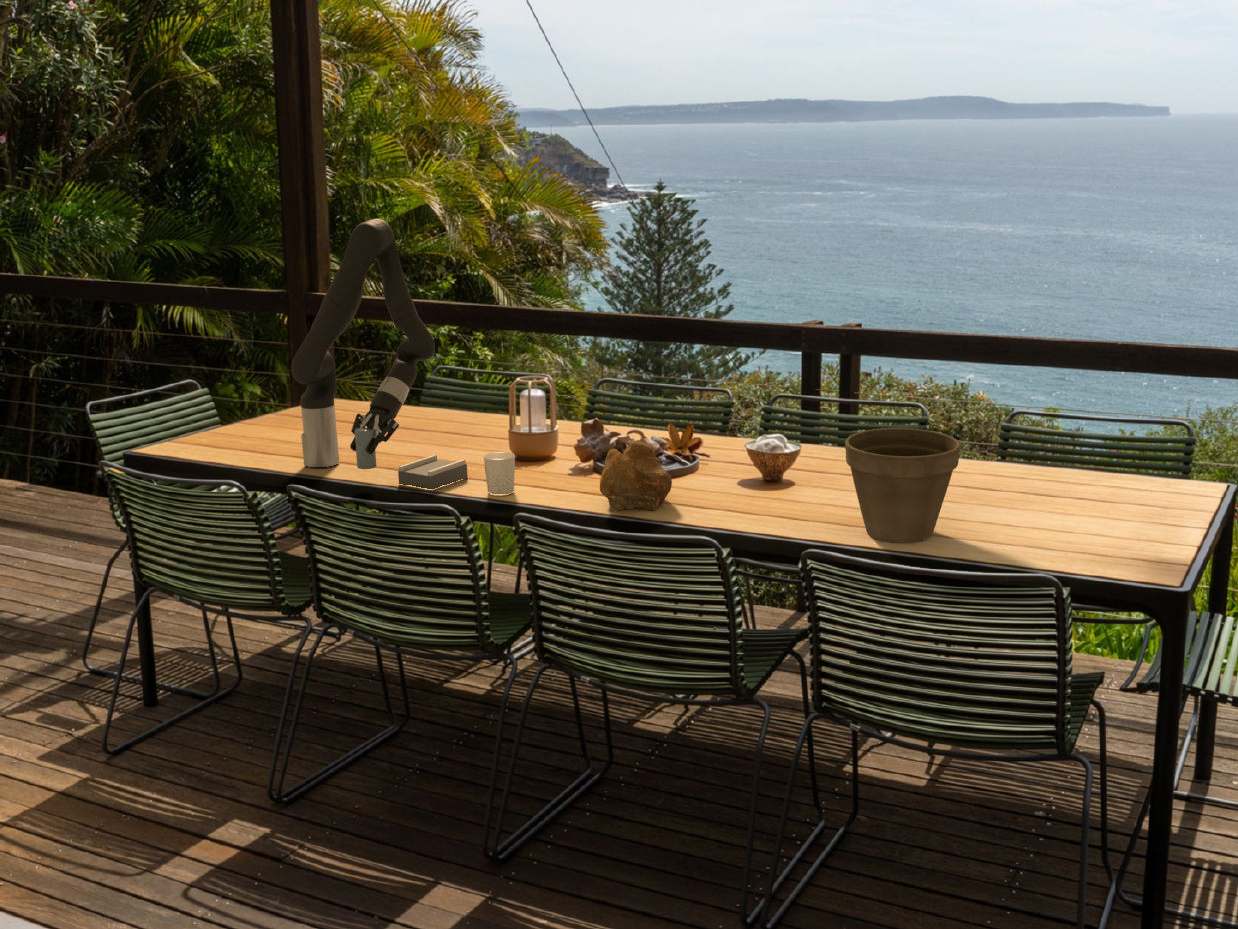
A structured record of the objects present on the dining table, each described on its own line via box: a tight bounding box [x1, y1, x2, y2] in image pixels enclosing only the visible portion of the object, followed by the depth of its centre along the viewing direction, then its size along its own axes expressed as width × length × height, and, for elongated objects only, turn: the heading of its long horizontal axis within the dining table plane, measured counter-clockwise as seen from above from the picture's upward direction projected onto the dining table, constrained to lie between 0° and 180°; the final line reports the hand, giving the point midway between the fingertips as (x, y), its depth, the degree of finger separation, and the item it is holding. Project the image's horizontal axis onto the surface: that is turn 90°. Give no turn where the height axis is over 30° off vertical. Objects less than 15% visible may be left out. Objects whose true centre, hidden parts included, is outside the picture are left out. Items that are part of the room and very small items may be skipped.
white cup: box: [483, 451, 516, 494], centre depth 308 cm, size 8×8×10 cm
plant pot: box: [845, 427, 961, 544], centre depth 267 cm, size 25×25×22 cm
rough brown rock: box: [599, 440, 673, 511], centre depth 295 cm, size 23×17×15 cm
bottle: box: [354, 427, 377, 470], centre depth 314 cm, size 5×5×10 cm
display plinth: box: [397, 454, 468, 489], centre depth 321 cm, size 14×12×5 cm
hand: (360, 450), depth 313 cm, fingers closed on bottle, 5 cm apart
